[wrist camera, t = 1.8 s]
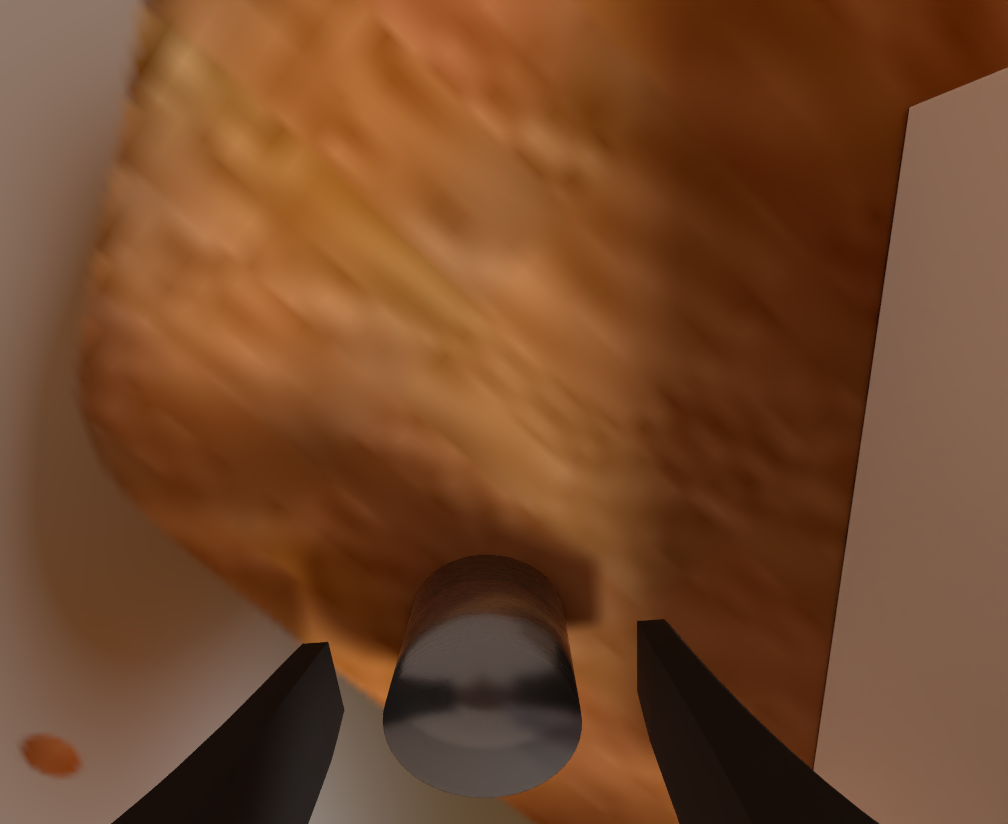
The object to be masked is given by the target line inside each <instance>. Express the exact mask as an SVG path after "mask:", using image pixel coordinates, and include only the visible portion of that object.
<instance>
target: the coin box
mask: <svg viewBox="0 0 1008 824" xmlns="http://www.w3.org/2000/svg"><path fill="white" fill-rule="evenodd" d="M813 771H814V772H816V773H817V774H818V775H819V776H820V777H821V778H823V779H824V780H825V781H826V782H827V783H828V784H830V785H831V786H832V787H833V788H835V789H836V790H837V791H838V792H839V793H841V794H842V795H843V796H844V797H846V798H847V799H848V800H849V801H851V802H852V803H853V804H854V805H856V806H857V807H858V808H859V809H861V810H862V811H863V812H865V813H866V814H867V815H869V816H870V817H871V818H873V819H874V820H875V821H877V822H878V823H879V824H1008V67H1007V68H1005V69H1002V70H1000V71H997V72H995V73H993V74H990V75H988V76H985V77H983V78H980V79H978V80H975V81H973V82H970V83H968V84H966V85H963V86H961V87H958V88H956V89H953V90H951V91H948V92H946V93H943V94H941V95H939V96H936V97H934V98H931V99H929V100H926V101H924V102H921V103H919V104H917V105H914V106H912V107H910V108H909V115H908V122H907V129H906V136H905V143H904V149H903V156H902V163H901V170H900V177H899V184H898V191H897V198H896V205H895V211H894V218H893V225H892V232H891V239H890V246H889V253H888V260H887V267H886V273H885V280H884V287H883V294H882V301H881V308H880V315H879V322H878V329H877V335H876V342H875V349H874V356H873V363H872V370H871V377H870V384H869V391H868V397H867V404H866V411H865V418H864V425H863V432H862V439H861V446H860V453H859V460H858V466H857V473H856V480H855V487H854V494H853V501H852V508H851V515H850V522H849V528H848V535H847V542H846V549H845V556H844V563H843V570H842V577H841V584H840V590H839V597H838V604H837V611H836V618H835V625H834V632H833V639H832V646H831V652H830V659H829V666H828V673H827V680H826V687H825V694H824V701H823V708H822V714H821V721H820V728H819V735H818V742H817V749H816V756H815V763H814V770H813Z"/></svg>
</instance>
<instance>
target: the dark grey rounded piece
mask: <svg viewBox="0 0 1008 824" xmlns="http://www.w3.org/2000/svg"><path fill="white" fill-rule="evenodd" d="M383 727H384V734H385V737H386V740H387V743H388V745H389V747H390V749H391V751H392V753H393V754H394V756H395V757H396V759H397V760H398V761H399V762H400V764H401V765H402V766H403V767H404V768H405V769H406V770H408V771H409V772H410V773H411V774H412V775H413V776H415V777H417V778H418V779H419V780H421V781H423V782H424V783H426V784H428V785H430V786H432V787H434V788H437V789H439V790H442V791H444V792H448V793H452V794H455V795H460V796H466V797H476V798H493V797H502V796H508V795H513V794H517V793H520V792H523V791H527V790H529V789H531V788H534V787H536V786H538V785H540V784H542V783H543V782H545V781H547V780H548V779H550V778H551V777H553V776H554V775H555V774H557V773H558V772H559V771H560V770H561V769H562V768H563V767H564V766H565V765H566V763H567V762H568V761H569V760H570V758H571V757H572V755H573V753H574V752H575V750H576V748H577V745H578V742H579V740H580V735H581V730H582V717H581V710H580V704H579V698H578V692H577V686H576V681H575V675H574V669H573V663H572V657H571V651H570V645H569V640H568V634H567V628H566V622H565V616H564V610H563V606H562V603H561V599H560V597H559V595H558V593H557V591H556V590H555V588H554V587H553V585H552V584H551V583H550V582H549V581H548V579H547V578H546V577H545V576H543V575H542V574H541V573H540V572H539V571H537V570H536V569H534V568H533V567H531V566H529V565H527V564H525V563H523V562H521V561H518V560H515V559H512V558H508V557H503V556H495V555H478V556H470V557H466V558H462V559H459V560H456V561H454V562H451V563H449V564H447V565H445V566H443V567H441V568H440V569H439V570H437V571H436V572H434V573H433V574H432V575H431V576H430V577H429V578H428V579H427V580H426V581H425V582H424V584H423V585H422V586H421V588H420V590H419V591H418V593H417V595H416V598H415V600H414V603H413V606H412V610H411V614H410V617H409V621H408V624H407V628H406V631H405V635H404V639H403V642H402V646H401V649H400V653H399V656H398V660H397V664H396V667H395V671H394V674H393V678H392V681H391V685H390V689H389V692H388V696H387V699H386V703H385V707H384V712H383Z"/></svg>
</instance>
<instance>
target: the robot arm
mask: <svg viewBox="0 0 1008 824" xmlns="http://www.w3.org/2000/svg"><path fill="white" fill-rule="evenodd" d="M637 691H638V695H639V700H640V704H641V708H642V712H643V716H644V720H645V724H646V727H647V731H648V735H649V739H650V742H651V745H652V748H653V751H654V754H655V756H656V759H657V762H658V765H659V768H660V770H661V773H662V776H663V779H664V782H665V784H666V787H667V790H668V793H669V795H670V798H671V801H672V804H673V807H674V809H675V812H676V815H677V818H678V820H679V823H680V824H879V823H878V822H877V821H875V820H874V819H873V818H871V817H870V816H869V815H867V814H866V813H865V812H863V811H862V810H861V809H859V808H858V807H857V806H856V805H854V804H853V803H852V802H851V801H849V800H848V799H847V798H846V797H844V796H843V795H842V794H841V793H839V792H838V791H837V790H836V789H835V788H833V787H832V786H831V785H830V784H828V783H827V782H826V781H825V780H824V779H823V778H821V777H820V776H819V775H818V774H817V773H816V772H814V771H813V770H812V769H811V768H810V767H808V766H807V765H806V764H805V763H804V762H803V761H802V760H800V759H799V758H798V757H797V756H796V755H795V754H794V753H793V752H791V751H790V750H789V749H788V748H787V747H786V746H785V745H784V744H783V743H782V742H781V741H779V740H778V739H777V738H776V737H775V736H774V735H773V734H772V733H771V732H770V731H769V730H768V729H767V728H766V727H765V726H764V725H763V724H761V723H760V722H759V721H758V720H757V719H756V718H755V717H754V716H753V715H752V714H751V713H750V712H749V711H748V710H747V709H746V708H745V707H744V706H743V705H742V704H741V703H740V702H739V701H738V700H737V699H736V698H735V697H734V696H733V695H732V694H731V692H730V691H729V690H728V689H727V688H726V687H725V686H724V685H723V684H722V683H721V682H720V681H719V680H718V679H717V678H716V677H715V676H714V675H713V674H712V672H711V671H710V670H709V669H708V668H707V667H706V666H705V665H704V664H703V663H702V661H701V660H700V659H699V658H698V657H697V656H696V655H695V654H694V652H693V651H692V650H691V649H690V648H689V647H688V646H687V644H686V643H685V642H684V641H683V640H682V639H681V637H680V636H679V635H678V634H677V633H676V632H675V630H674V629H673V628H672V627H671V626H670V624H669V623H668V622H666V621H665V620H664V619H661V620H647V621H637ZM343 713H344V707H343V702H342V698H341V694H340V690H339V685H338V682H337V677H336V673H335V669H334V664H333V660H332V656H331V652H330V648H329V643H328V642H321V643H307V644H302V645H301V646H300V647H299V648H298V649H297V650H296V651H295V652H294V653H293V654H292V655H291V656H290V657H289V658H288V659H287V660H286V661H285V662H284V663H283V664H282V665H281V666H280V667H279V668H278V669H277V670H276V671H275V672H274V673H273V674H272V675H271V676H270V677H269V678H268V680H266V681H265V682H264V684H263V685H262V686H261V687H260V688H259V689H258V690H257V691H256V692H255V693H254V694H253V695H252V696H251V697H250V698H249V699H248V700H247V701H246V702H245V703H244V704H243V705H242V706H241V707H240V708H239V709H238V710H237V711H236V712H235V713H234V714H233V715H232V716H231V717H230V718H229V719H228V720H227V721H226V722H225V723H224V724H223V725H222V726H221V727H220V728H218V729H217V730H216V731H215V732H214V733H213V734H212V735H211V736H210V737H209V738H208V739H207V740H206V741H205V742H204V743H202V744H201V746H199V747H198V748H197V749H196V750H195V751H194V752H193V753H192V754H191V755H190V756H189V757H188V758H187V759H185V760H184V761H183V762H182V763H181V764H180V765H179V766H178V767H177V768H176V769H175V770H174V771H173V772H171V773H170V774H169V775H168V776H167V777H166V778H165V779H164V780H162V781H161V782H160V783H159V784H158V785H157V786H155V787H154V788H153V789H152V790H151V791H150V792H149V793H147V794H146V795H145V796H144V797H143V798H142V799H140V800H139V801H138V802H137V803H136V804H134V805H133V806H132V807H131V808H130V809H128V810H127V811H126V812H125V813H124V814H122V815H121V816H120V817H119V818H117V819H116V820H115V821H114V822H113V823H111V824H308V823H309V820H310V817H311V815H312V812H313V809H314V807H315V804H316V801H317V798H318V796H319V793H320V790H321V788H322V785H323V782H324V779H325V777H326V774H327V771H328V768H329V766H330V763H331V760H332V756H333V752H334V749H335V745H336V741H337V738H338V733H339V730H340V725H341V721H342V717H343Z"/></svg>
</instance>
